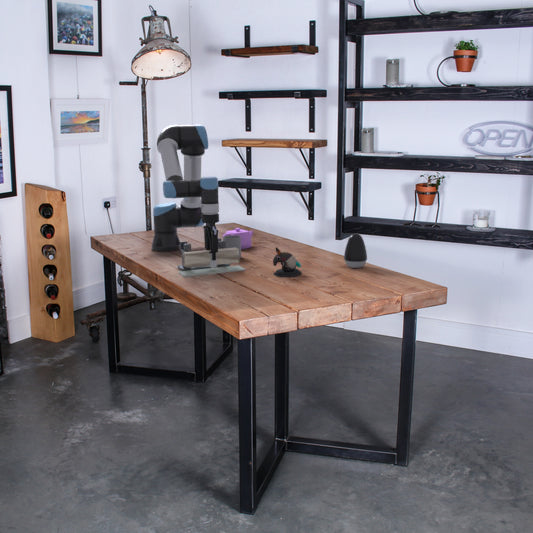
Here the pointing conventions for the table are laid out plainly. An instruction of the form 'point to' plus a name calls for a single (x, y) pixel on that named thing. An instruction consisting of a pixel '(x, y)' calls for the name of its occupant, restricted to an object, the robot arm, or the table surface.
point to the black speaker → (355, 252)
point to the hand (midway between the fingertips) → (211, 266)
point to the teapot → (244, 237)
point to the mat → (211, 271)
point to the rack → (187, 248)
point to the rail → (204, 257)
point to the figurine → (286, 264)
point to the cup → (233, 242)
